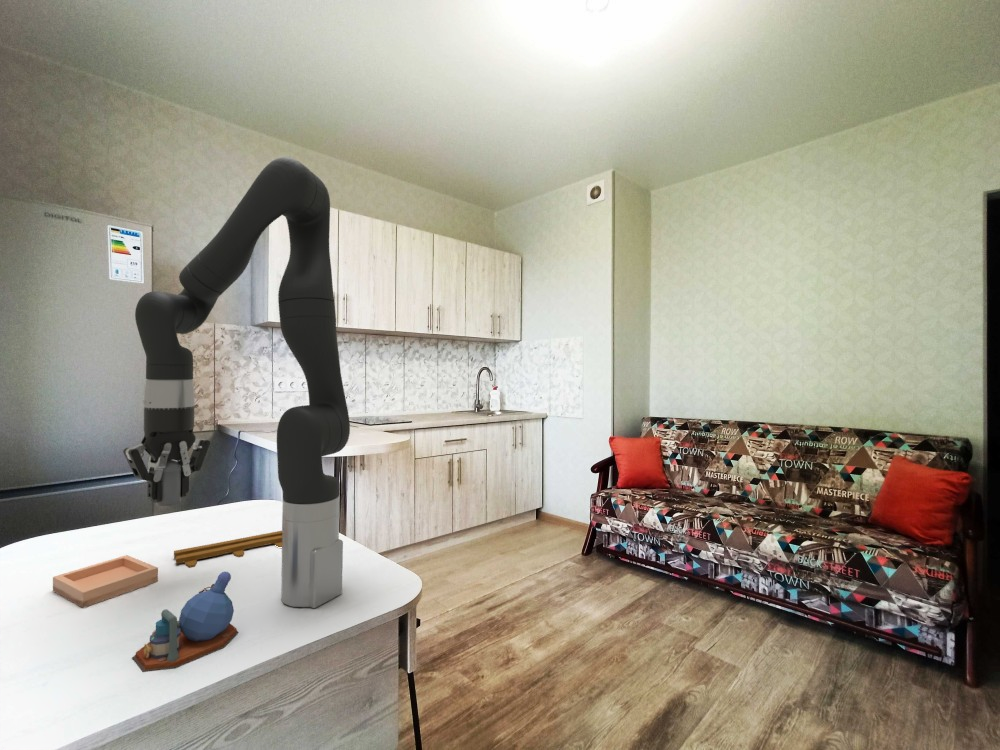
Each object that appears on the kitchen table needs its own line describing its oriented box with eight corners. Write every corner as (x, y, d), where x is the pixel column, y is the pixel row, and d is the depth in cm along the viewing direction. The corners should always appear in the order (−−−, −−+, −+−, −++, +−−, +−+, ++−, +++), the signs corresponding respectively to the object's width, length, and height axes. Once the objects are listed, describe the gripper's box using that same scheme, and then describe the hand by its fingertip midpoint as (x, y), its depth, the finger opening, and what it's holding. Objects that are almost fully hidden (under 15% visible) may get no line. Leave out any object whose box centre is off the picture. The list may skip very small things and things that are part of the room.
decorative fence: (172, 556, 99) (177, 573, 92) (172, 546, 99) (177, 563, 92) (298, 531, 115) (311, 544, 107) (298, 523, 115) (311, 536, 107)
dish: (157, 581, 87) (158, 567, 87) (83, 607, 77) (83, 592, 77) (126, 567, 92) (126, 555, 92) (52, 591, 82) (52, 576, 82)
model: (219, 617, 76) (219, 559, 75) (246, 639, 70) (247, 576, 70) (126, 653, 66) (126, 587, 66) (149, 681, 60) (149, 609, 60)
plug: (184, 502, 87) (185, 459, 87) (163, 507, 84) (163, 463, 84) (173, 499, 89) (174, 457, 89) (152, 503, 86) (152, 460, 86)
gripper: (135, 408, 78) (134, 512, 78) (221, 403, 91) (219, 493, 91) (112, 405, 82) (112, 505, 82) (198, 400, 94) (197, 487, 94)
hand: (168, 498), depth 86 cm, fingers closed on plug, 3 cm apart
